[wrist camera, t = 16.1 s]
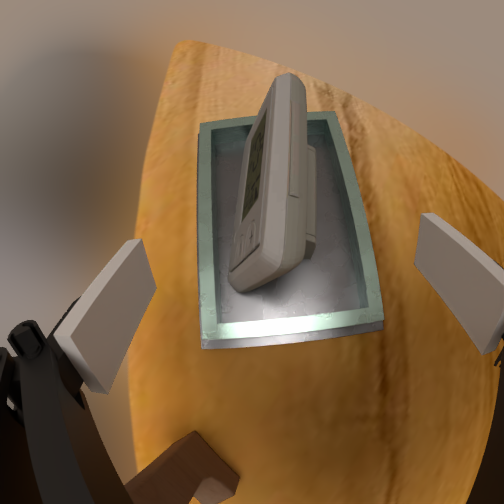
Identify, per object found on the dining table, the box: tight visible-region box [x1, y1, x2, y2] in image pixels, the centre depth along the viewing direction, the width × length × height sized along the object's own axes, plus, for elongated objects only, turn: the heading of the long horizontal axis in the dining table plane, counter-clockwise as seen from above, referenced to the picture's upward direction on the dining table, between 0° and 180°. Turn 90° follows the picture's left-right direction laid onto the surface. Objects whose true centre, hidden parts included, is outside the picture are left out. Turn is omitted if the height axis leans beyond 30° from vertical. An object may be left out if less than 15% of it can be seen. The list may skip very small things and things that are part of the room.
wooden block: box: [124, 431, 240, 504], centre depth 14 cm, size 7×3×15 cm, turn 39°
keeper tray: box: [197, 111, 384, 349], centre depth 26 cm, size 16×23×4 cm
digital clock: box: [228, 73, 317, 293], centre depth 22 cm, size 16×9×11 cm, turn 163°
